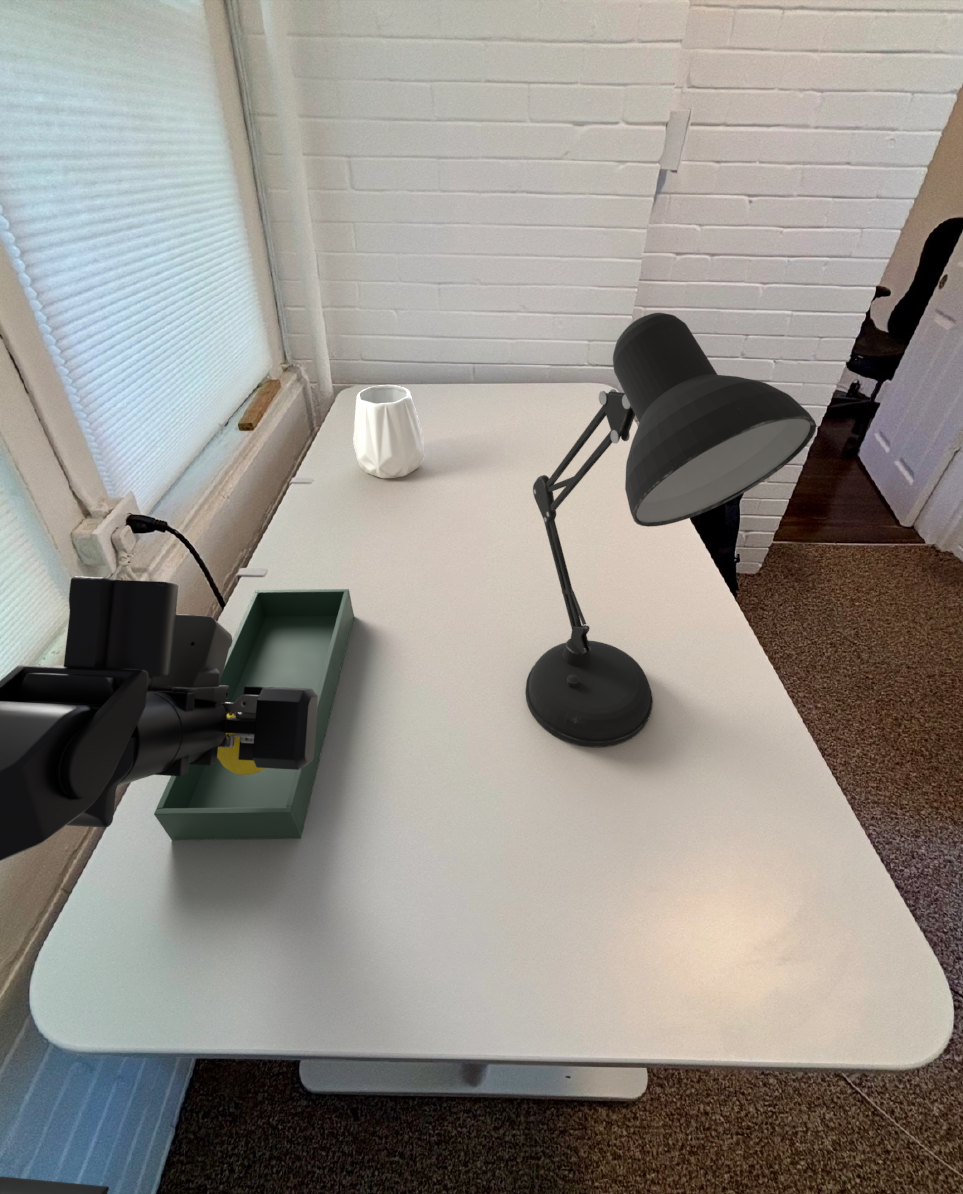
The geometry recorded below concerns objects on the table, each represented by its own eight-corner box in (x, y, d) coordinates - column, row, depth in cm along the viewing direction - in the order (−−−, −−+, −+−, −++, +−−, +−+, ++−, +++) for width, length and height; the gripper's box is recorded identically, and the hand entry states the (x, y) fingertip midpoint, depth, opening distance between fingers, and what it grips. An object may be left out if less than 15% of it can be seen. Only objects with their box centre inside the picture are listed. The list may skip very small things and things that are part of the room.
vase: (358, 486, 115) (346, 411, 106) (355, 454, 126) (345, 383, 116) (430, 479, 117) (424, 405, 108) (421, 448, 128) (416, 378, 118)
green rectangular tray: (300, 838, 60) (290, 812, 57) (171, 840, 60) (153, 814, 57) (354, 615, 86) (348, 588, 83) (263, 616, 86) (255, 589, 83)
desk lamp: (677, 824, 61) (850, 395, 32) (453, 740, 69) (429, 338, 40) (710, 666, 78) (842, 293, 49) (527, 613, 86) (547, 267, 57)
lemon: (282, 785, 57) (263, 733, 52) (223, 795, 56) (197, 743, 51) (286, 739, 61) (269, 687, 56) (231, 748, 61) (208, 695, 56)
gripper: (284, 621, 41) (347, 631, 56) (25, 611, 42) (157, 624, 57) (271, 788, 39) (339, 751, 55) (5, 773, 40) (146, 741, 56)
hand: (244, 713), depth 56 cm, fingers closed on lemon, 4 cm apart
